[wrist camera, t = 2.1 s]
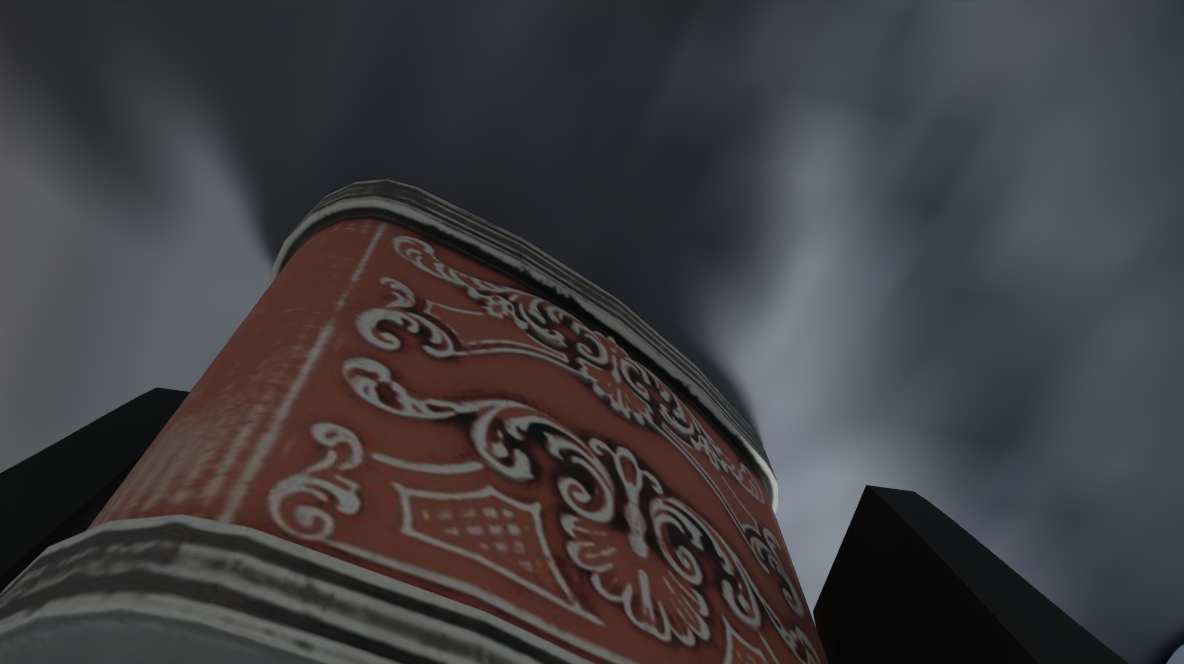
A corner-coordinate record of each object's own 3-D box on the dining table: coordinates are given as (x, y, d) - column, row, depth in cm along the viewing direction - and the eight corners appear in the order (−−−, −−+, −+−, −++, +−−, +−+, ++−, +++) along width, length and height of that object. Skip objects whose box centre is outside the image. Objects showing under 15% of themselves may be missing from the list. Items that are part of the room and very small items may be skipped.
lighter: (238, 309, 12) (-799, 1638, 3) (372, 117, 10) (-639, 1304, 2) (670, 576, 14) (869, 1713, 5) (815, 444, 13) (1377, 1603, 4)
